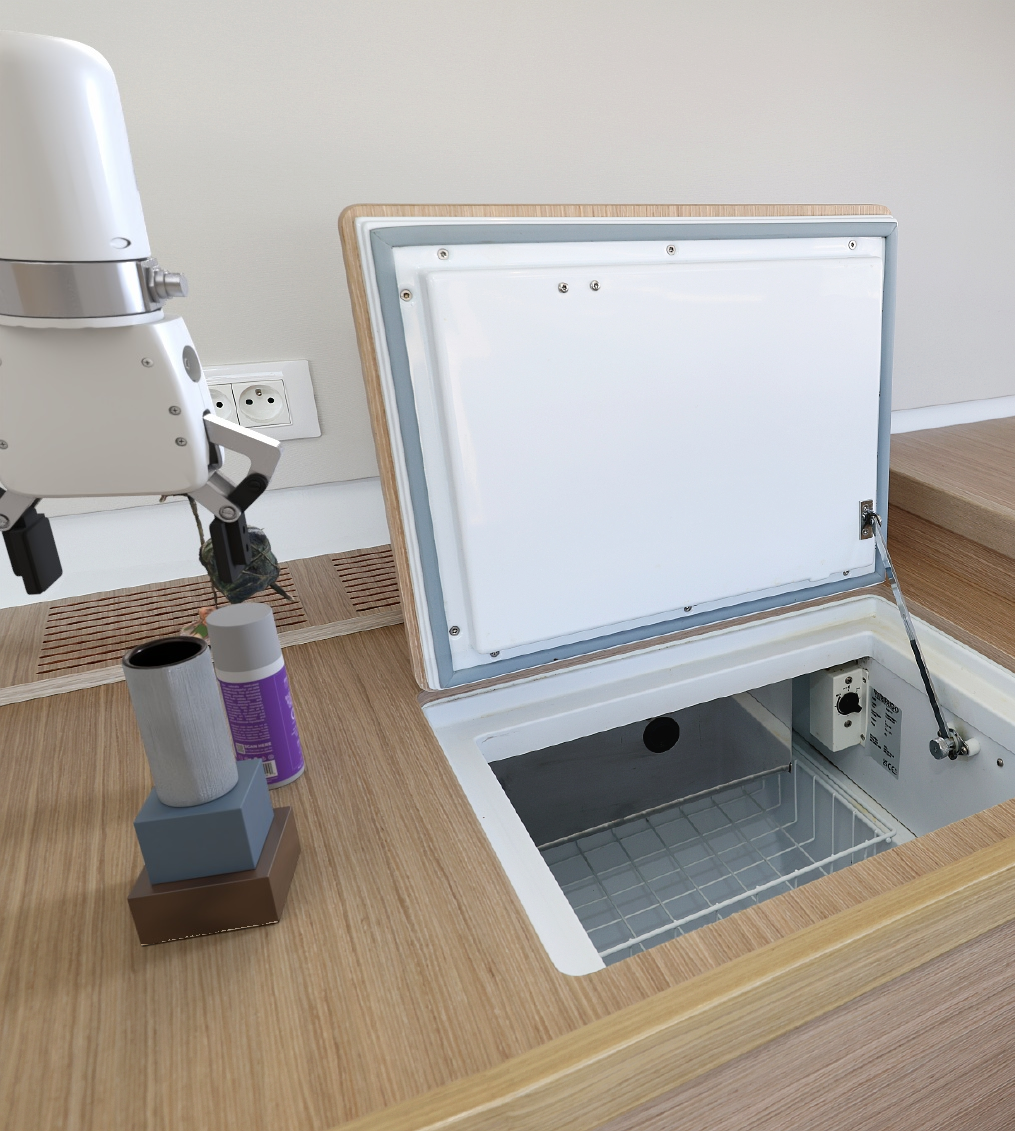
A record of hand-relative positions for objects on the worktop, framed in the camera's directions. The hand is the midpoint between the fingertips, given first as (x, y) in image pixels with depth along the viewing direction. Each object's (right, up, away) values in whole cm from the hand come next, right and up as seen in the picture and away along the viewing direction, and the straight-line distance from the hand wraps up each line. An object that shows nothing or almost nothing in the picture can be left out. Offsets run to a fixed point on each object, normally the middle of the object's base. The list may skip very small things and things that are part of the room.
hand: (142, 580), depth 57 cm
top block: (-1, -19, +8) cm, 20 cm away
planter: (0, -14, +6) cm, 15 cm away
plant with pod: (-24, -6, +46) cm, 52 cm away
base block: (-1, -22, +9) cm, 24 cm away
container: (-6, -17, +22) cm, 29 cm away
